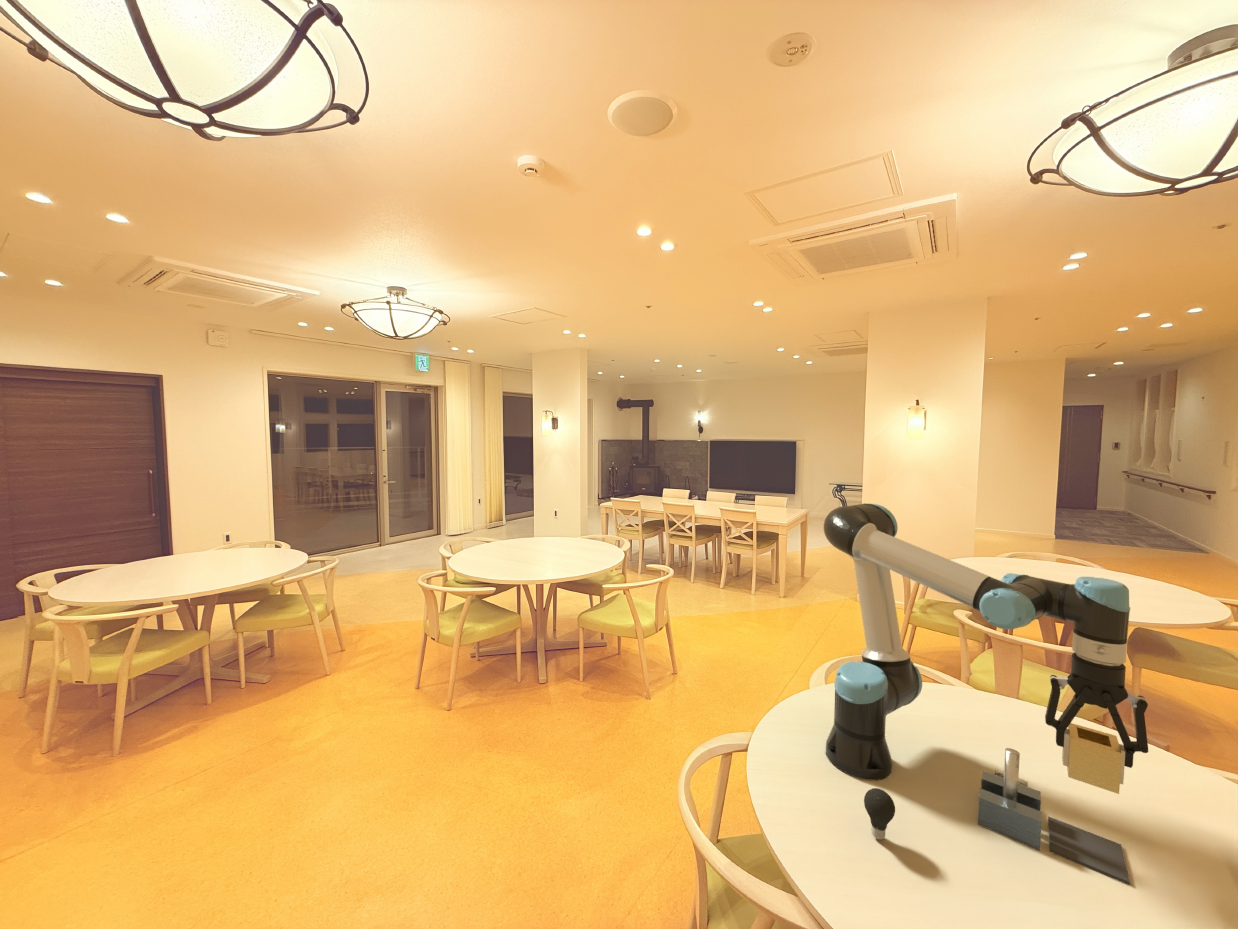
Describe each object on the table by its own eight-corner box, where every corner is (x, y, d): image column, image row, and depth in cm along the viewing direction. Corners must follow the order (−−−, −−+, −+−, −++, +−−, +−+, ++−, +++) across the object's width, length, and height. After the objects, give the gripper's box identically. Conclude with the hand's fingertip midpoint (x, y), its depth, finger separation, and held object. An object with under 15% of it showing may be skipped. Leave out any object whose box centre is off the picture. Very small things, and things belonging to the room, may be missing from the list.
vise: (977, 824, 102) (981, 754, 102) (983, 779, 116) (986, 717, 115) (1040, 850, 96) (1044, 776, 95) (1038, 799, 110) (1042, 734, 109)
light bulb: (893, 854, 95) (895, 805, 94) (861, 841, 98) (863, 794, 97) (894, 834, 99) (896, 788, 99) (864, 823, 102) (865, 778, 102)
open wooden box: (1068, 777, 95) (1070, 738, 95) (1066, 759, 100) (1068, 722, 100) (1119, 794, 90) (1121, 753, 90) (1113, 774, 96) (1116, 735, 95)
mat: (1049, 851, 96) (1050, 849, 96) (1048, 819, 104) (1048, 816, 104) (1129, 885, 89) (1130, 882, 89) (1120, 847, 97) (1121, 844, 97)
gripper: (1031, 649, 98) (1025, 758, 99) (1179, 682, 85) (1171, 807, 86) (1031, 638, 104) (1025, 741, 105) (1170, 667, 91) (1162, 784, 92)
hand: (1091, 770), depth 95 cm, fingers closed on open wooden box, 7 cm apart
